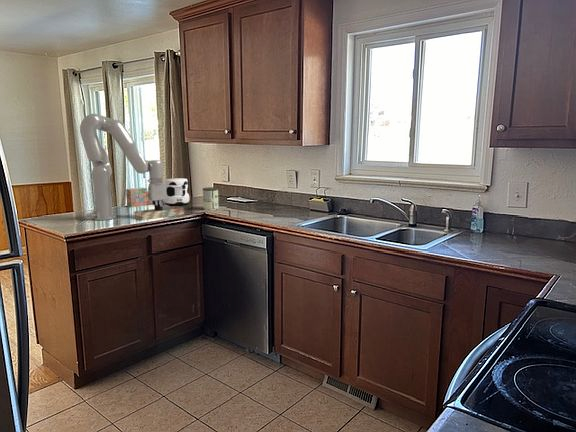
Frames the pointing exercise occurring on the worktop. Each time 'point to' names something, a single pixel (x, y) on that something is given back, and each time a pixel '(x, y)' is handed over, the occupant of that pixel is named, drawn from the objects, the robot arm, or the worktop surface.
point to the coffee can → (210, 198)
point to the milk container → (176, 191)
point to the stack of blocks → (137, 197)
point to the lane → (158, 213)
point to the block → (164, 207)
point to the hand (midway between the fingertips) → (157, 211)
